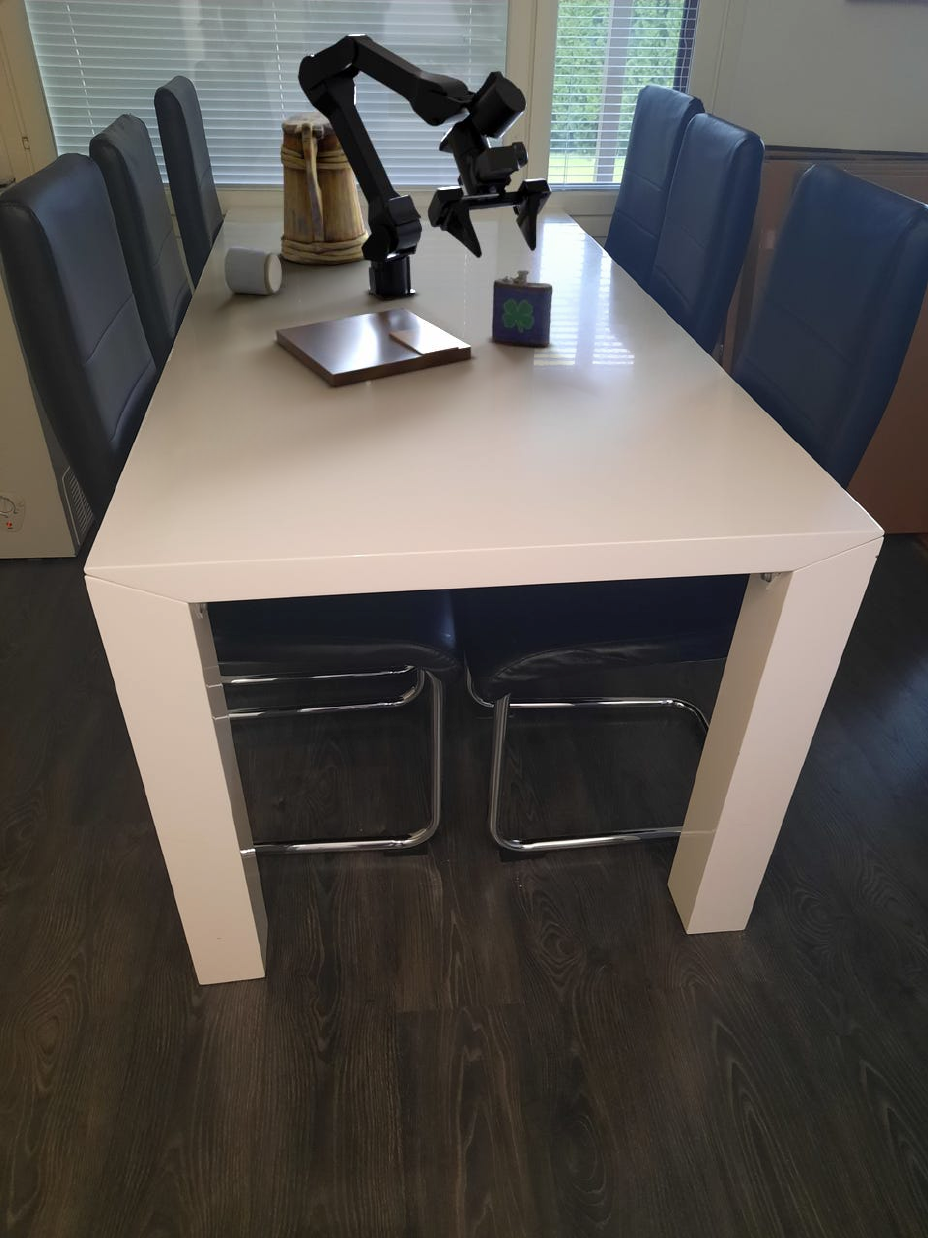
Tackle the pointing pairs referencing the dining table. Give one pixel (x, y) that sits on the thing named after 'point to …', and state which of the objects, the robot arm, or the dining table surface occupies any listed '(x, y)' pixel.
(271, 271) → the ceramic mug
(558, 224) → the dining table surface
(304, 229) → the tankard
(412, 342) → the serving board
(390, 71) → the robot arm
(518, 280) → the flask
